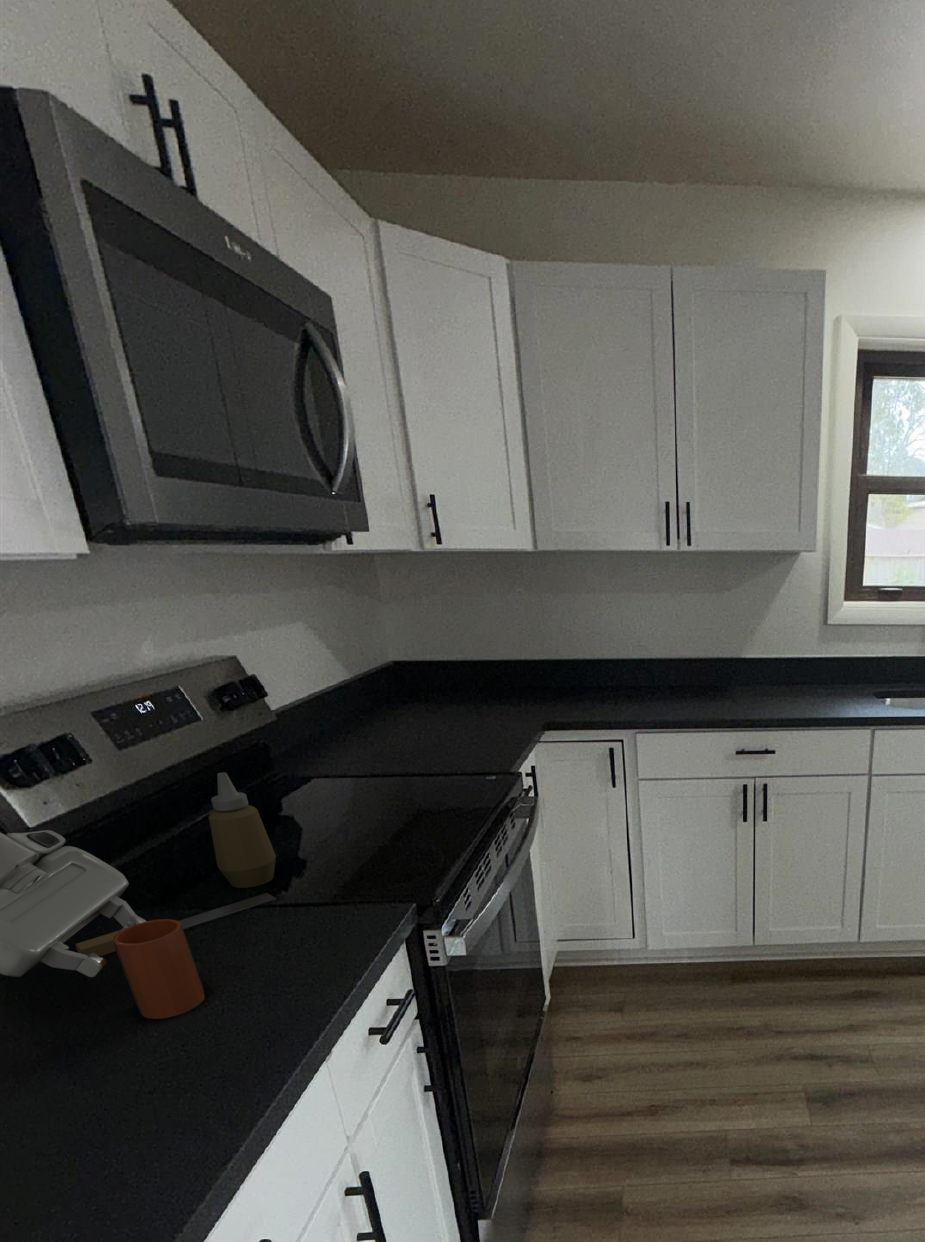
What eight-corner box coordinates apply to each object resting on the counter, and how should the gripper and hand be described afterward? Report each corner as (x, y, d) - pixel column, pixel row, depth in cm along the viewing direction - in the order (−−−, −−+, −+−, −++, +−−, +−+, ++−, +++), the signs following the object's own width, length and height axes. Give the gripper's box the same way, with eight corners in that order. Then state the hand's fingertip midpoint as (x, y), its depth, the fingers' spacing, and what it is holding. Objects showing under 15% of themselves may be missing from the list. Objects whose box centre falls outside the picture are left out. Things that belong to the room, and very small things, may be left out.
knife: (87, 963, 103) (82, 950, 103) (79, 956, 105) (74, 943, 104) (277, 901, 121) (273, 889, 120) (267, 896, 122) (264, 884, 122)
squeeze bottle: (284, 884, 126) (254, 775, 119) (225, 897, 122) (191, 784, 115) (278, 868, 132) (249, 763, 125) (222, 879, 128) (189, 771, 121)
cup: (153, 1027, 90) (124, 950, 86) (133, 1008, 94) (104, 934, 90) (214, 1003, 95) (189, 929, 91) (193, 986, 98) (168, 914, 94)
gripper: (-66, 896, 74) (87, 976, 80) (61, 825, 93) (178, 894, 98) (-100, 942, 75) (54, 1018, 81) (32, 863, 94) (150, 929, 99)
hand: (123, 949), depth 90 cm, fingers open, 8 cm apart
